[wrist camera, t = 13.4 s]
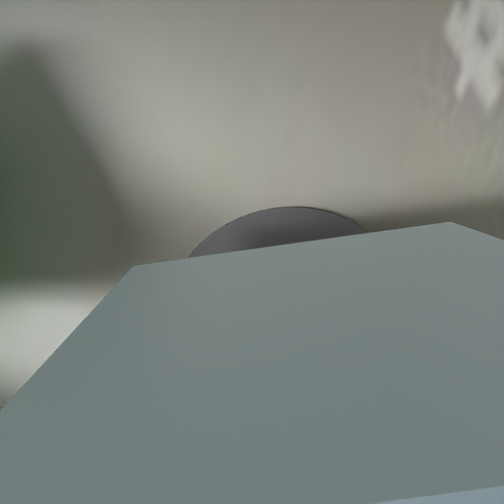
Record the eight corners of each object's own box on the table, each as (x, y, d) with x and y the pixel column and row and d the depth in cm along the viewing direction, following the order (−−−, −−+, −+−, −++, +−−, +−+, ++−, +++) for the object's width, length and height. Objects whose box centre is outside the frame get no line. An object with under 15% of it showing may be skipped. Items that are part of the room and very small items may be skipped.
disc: (141, 226, 15) (140, 227, 15) (405, 189, 15) (408, 190, 15) (189, 442, 18) (189, 445, 18) (410, 411, 18) (411, 414, 18)
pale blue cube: (134, 265, 12) (-149, 571, 3) (450, 221, 12) (1017, 417, 3) (191, 507, 14) (120, 1014, 6) (447, 473, 14) (741, 940, 6)
